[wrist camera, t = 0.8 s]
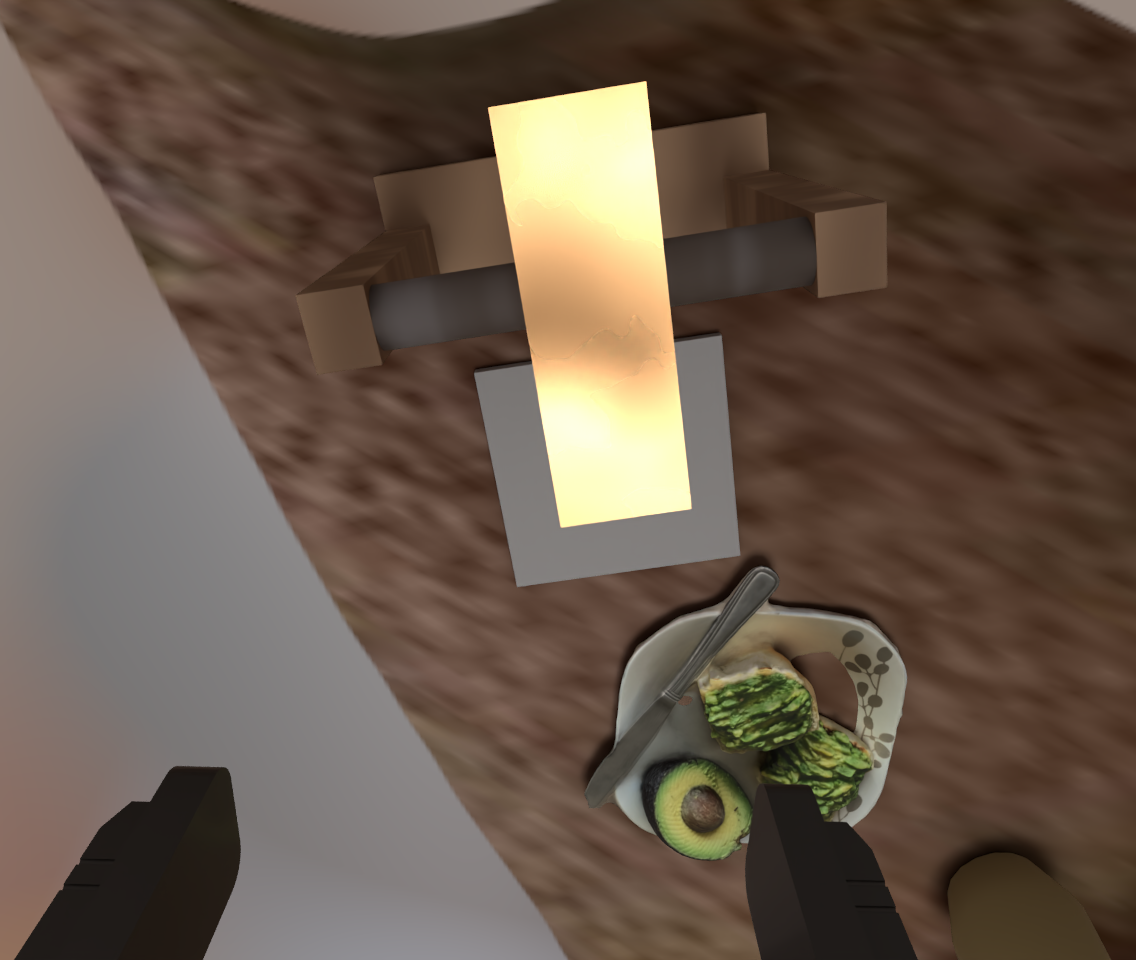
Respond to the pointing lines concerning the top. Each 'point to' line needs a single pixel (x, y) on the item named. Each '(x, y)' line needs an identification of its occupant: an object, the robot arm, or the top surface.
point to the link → (595, 299)
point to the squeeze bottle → (1017, 914)
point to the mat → (622, 542)
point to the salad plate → (746, 720)
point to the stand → (689, 228)
